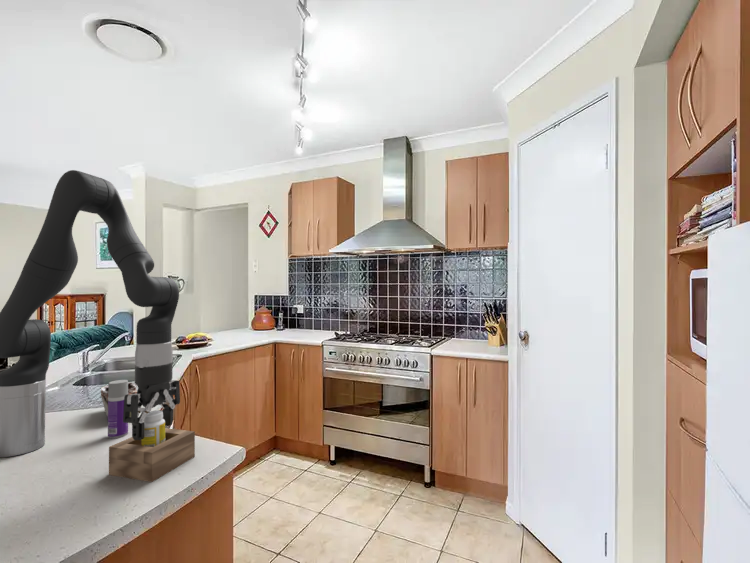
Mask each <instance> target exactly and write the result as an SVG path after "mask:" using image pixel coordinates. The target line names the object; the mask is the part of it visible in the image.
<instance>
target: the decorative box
mask: <svg viewBox="0 0 750 563" xmlns="http://www.w3.org/2000/svg"><path fill="white" fill-rule="evenodd" d="M137 388H138V386H137V385H136V384H135V382H129V381H128V394H136V393H137V391H138V389H137ZM100 389H101V390H100V398H101V400H102V403H103V404H102V405H103V408H104V413H105V415H106V416H107V418H108V391H109V384H108V385H104V386H102V387H100ZM130 417H131V412H130Z"/></svg>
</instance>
